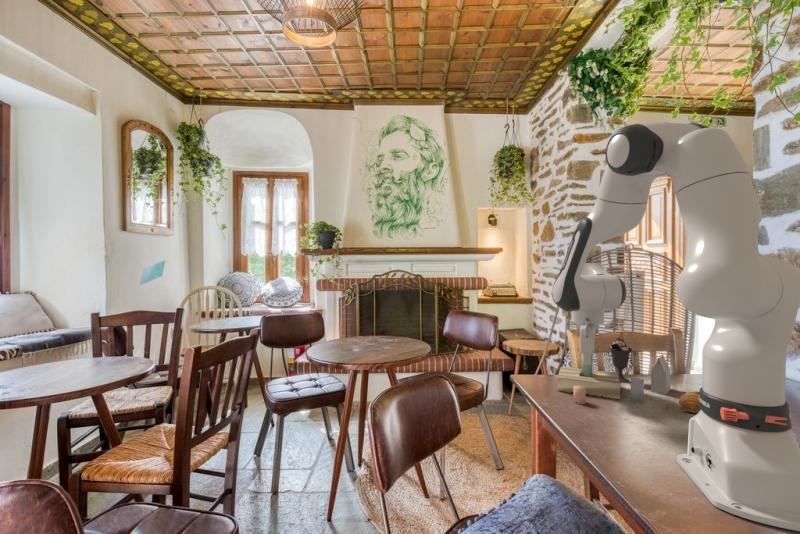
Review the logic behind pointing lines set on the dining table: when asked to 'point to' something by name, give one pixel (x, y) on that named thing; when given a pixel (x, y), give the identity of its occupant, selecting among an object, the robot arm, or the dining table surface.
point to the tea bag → (660, 376)
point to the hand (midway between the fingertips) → (587, 362)
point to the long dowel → (586, 367)
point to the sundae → (620, 356)
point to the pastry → (690, 402)
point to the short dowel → (579, 394)
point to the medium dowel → (637, 390)
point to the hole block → (590, 382)
